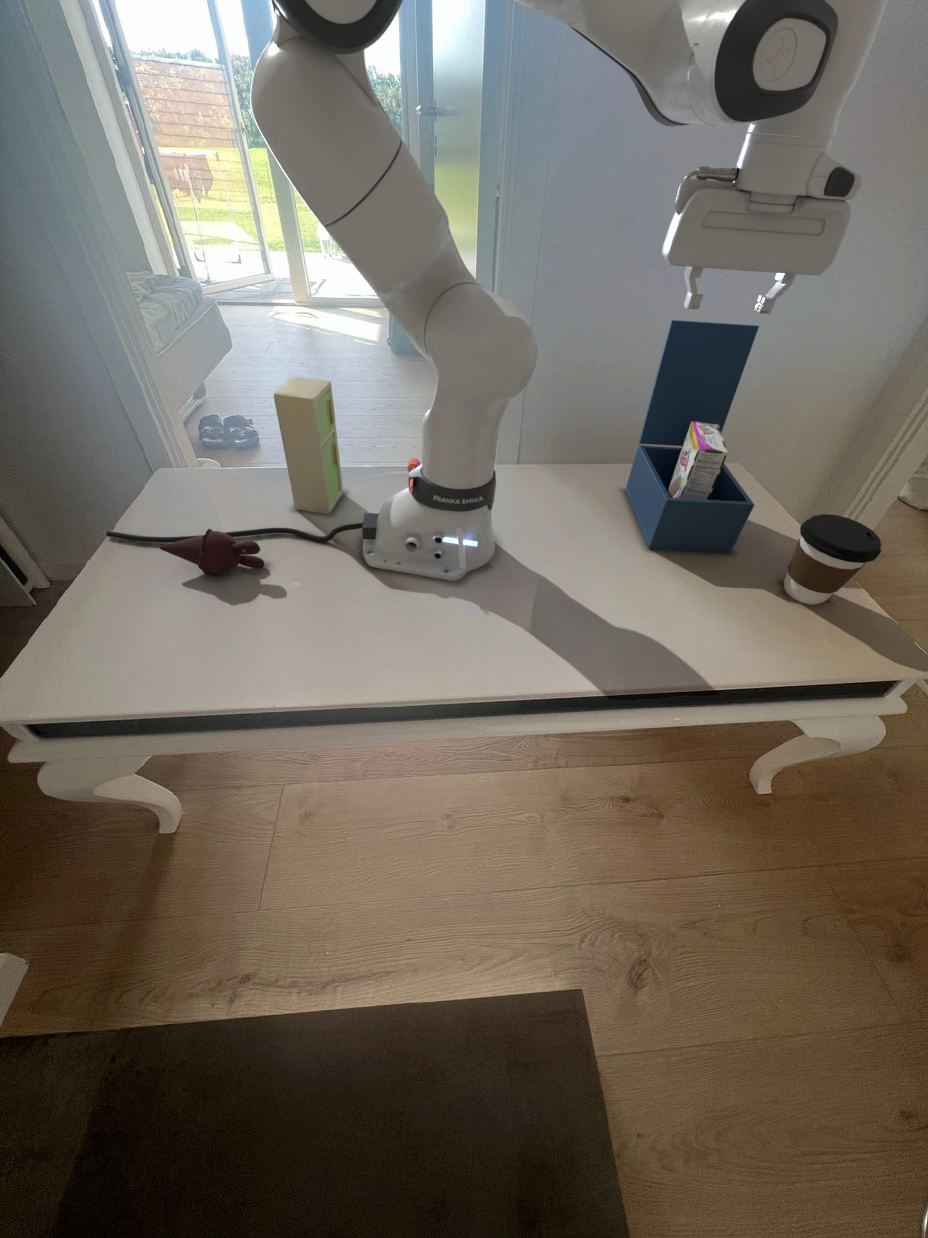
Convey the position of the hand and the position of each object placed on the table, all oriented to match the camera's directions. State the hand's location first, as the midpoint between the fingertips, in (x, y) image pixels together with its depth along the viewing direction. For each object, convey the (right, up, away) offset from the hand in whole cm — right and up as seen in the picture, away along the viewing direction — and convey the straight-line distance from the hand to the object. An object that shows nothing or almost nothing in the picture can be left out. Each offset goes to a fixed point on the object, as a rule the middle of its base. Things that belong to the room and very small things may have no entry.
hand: (726, 310), depth 68 cm
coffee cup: (+22, -36, +18) cm, 46 cm away
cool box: (+6, -21, +32) cm, 39 cm away
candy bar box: (+6, -22, +31) cm, 38 cm away
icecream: (-73, -33, +14) cm, 81 cm away
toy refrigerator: (-61, -19, +30) cm, 70 cm away
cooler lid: (+7, +1, +25) cm, 26 cm away
